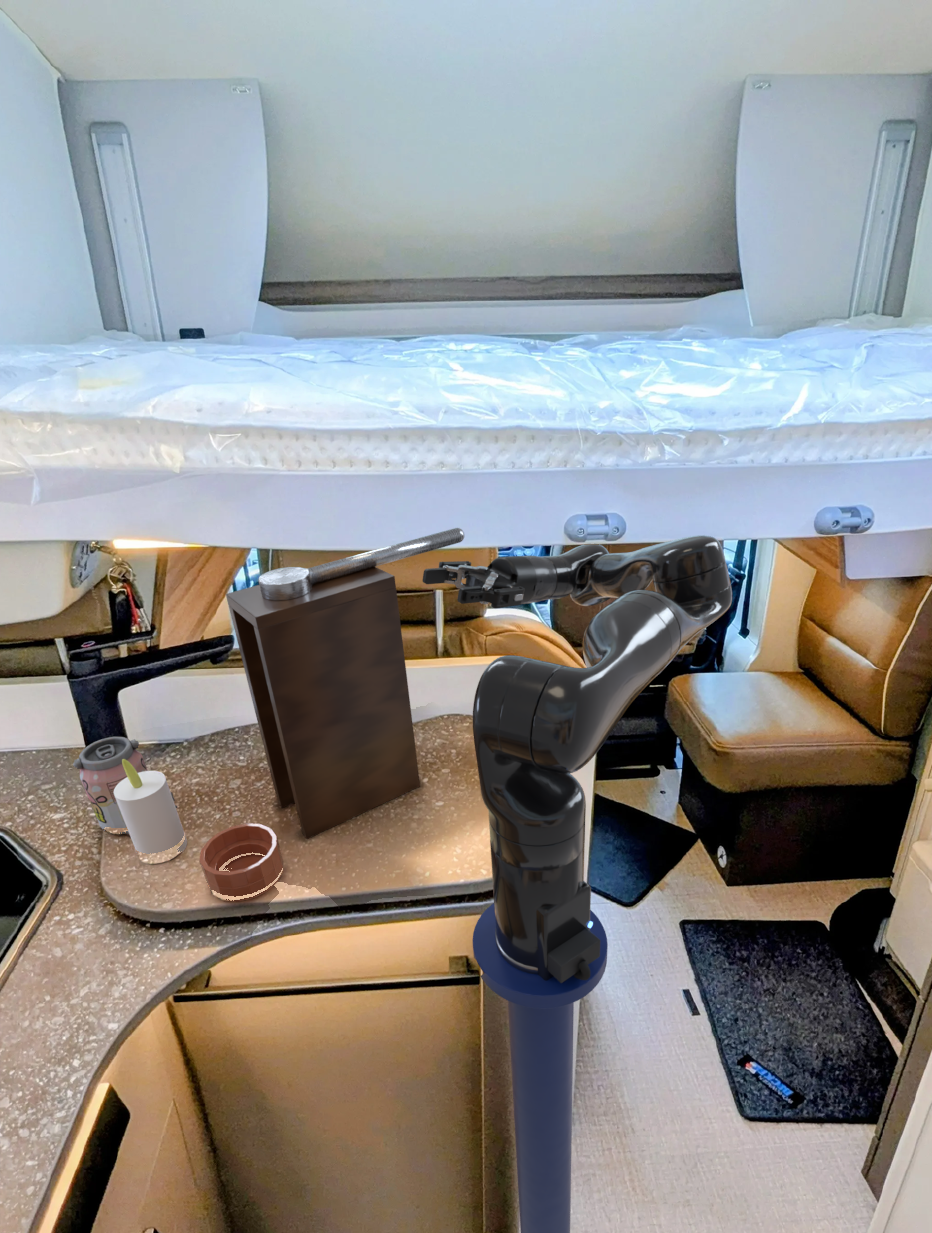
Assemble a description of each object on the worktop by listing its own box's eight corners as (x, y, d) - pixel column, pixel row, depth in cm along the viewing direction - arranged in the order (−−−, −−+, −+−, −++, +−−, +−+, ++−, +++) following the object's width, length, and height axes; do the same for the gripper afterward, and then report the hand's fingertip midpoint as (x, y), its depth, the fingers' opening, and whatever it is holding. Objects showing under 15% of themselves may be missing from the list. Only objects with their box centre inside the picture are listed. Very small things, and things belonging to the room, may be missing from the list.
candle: (198, 842, 95) (167, 749, 88) (155, 871, 91) (119, 776, 83) (170, 826, 99) (139, 736, 91) (128, 853, 94) (91, 761, 87)
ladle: (451, 536, 99) (450, 522, 98) (476, 545, 94) (475, 530, 93) (254, 591, 85) (250, 575, 84) (273, 605, 81) (269, 588, 80)
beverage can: (94, 813, 103) (65, 744, 97) (153, 790, 107) (128, 723, 101) (106, 846, 96) (76, 774, 90) (169, 821, 100) (144, 750, 94)
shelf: (386, 756, 110) (356, 557, 94) (420, 786, 102) (394, 575, 86) (277, 803, 101) (225, 593, 85) (306, 839, 94) (255, 617, 78)
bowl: (296, 882, 87) (288, 851, 85) (224, 917, 83) (213, 886, 80) (268, 843, 94) (260, 813, 91) (200, 874, 90) (190, 844, 87)
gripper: (496, 544, 115) (416, 546, 105) (558, 571, 106) (477, 576, 96) (488, 587, 119) (409, 594, 109) (547, 618, 109) (467, 628, 99)
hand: (441, 586), depth 102 cm, fingers open, 8 cm apart
